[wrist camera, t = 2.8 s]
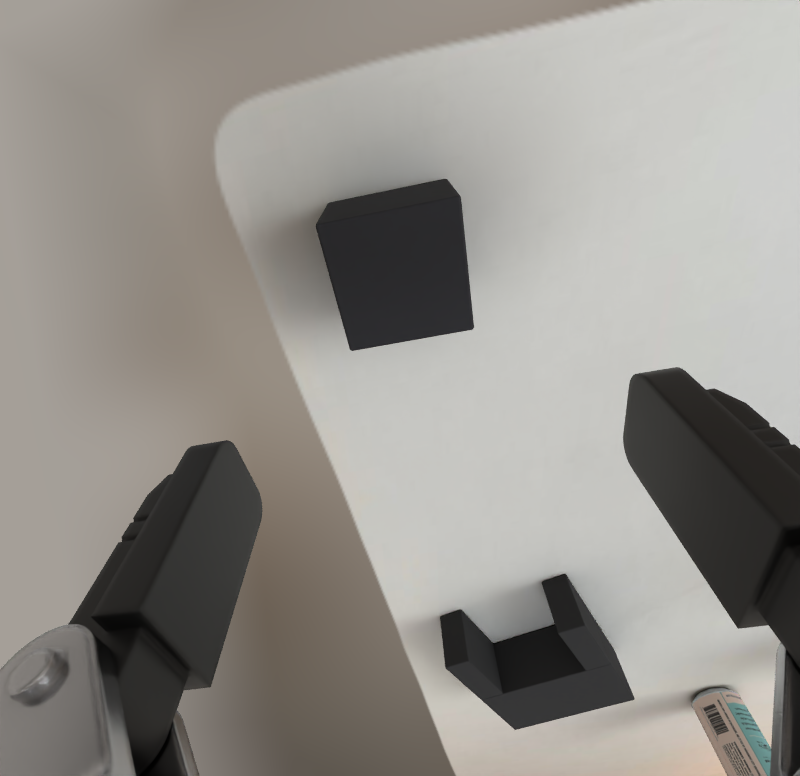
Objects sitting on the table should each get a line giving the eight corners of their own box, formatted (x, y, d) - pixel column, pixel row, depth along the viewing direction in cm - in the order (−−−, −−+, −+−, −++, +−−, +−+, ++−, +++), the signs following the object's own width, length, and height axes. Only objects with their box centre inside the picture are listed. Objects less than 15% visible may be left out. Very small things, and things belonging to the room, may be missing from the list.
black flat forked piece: (439, 616, 37) (445, 668, 33) (565, 573, 34) (585, 625, 31) (505, 681, 44) (514, 730, 40) (614, 650, 41) (635, 699, 37)
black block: (355, 313, 22) (350, 352, 18) (327, 202, 19) (314, 224, 16) (460, 293, 21) (474, 329, 18) (447, 178, 18) (460, 195, 15)
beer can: (684, 707, 48) (763, 867, 38) (693, 687, 45) (780, 854, 35) (730, 702, 48) (822, 863, 38) (741, 682, 45) (843, 849, 35)
